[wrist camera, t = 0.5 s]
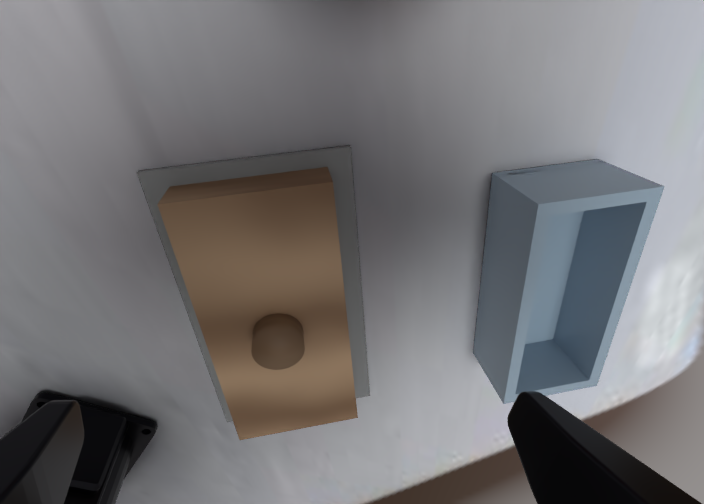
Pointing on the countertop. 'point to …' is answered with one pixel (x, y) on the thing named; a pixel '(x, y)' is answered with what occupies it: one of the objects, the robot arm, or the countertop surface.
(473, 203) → the countertop surface
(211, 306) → the walnut lid
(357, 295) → the rubber mat
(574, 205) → the ceramic dish
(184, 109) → the countertop surface
